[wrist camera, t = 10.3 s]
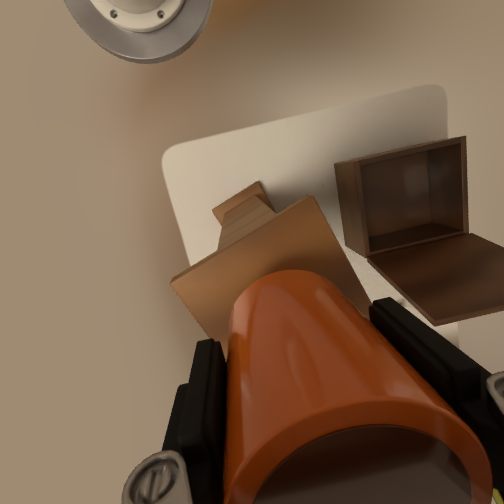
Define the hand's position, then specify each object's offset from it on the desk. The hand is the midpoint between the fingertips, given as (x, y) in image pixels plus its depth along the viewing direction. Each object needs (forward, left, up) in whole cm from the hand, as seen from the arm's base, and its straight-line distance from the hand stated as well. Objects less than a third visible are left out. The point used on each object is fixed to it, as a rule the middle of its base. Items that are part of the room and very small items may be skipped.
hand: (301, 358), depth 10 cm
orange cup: (0, 0, -2) cm, 2 cm away
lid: (+15, +17, -20) cm, 30 cm away
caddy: (+8, +19, -34) cm, 40 cm away
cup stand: (0, 0, -34) cm, 34 cm away
